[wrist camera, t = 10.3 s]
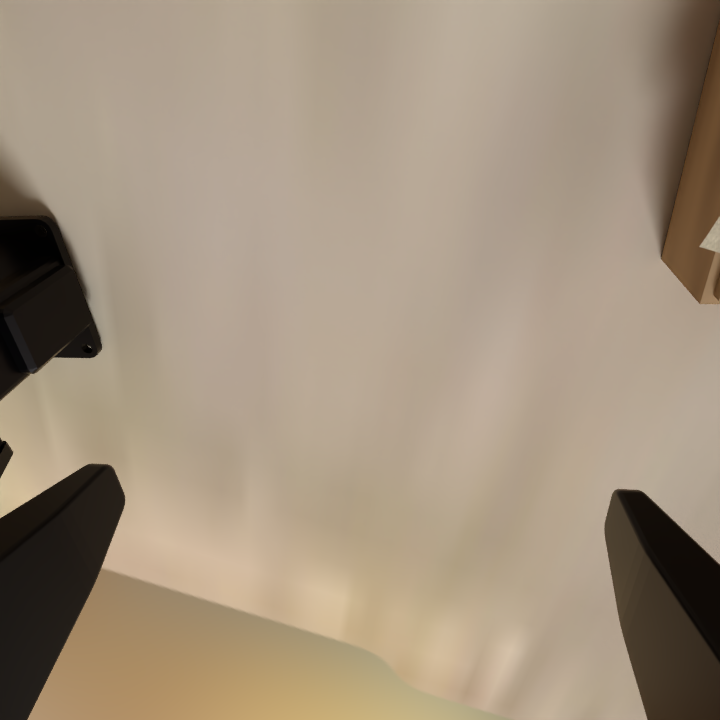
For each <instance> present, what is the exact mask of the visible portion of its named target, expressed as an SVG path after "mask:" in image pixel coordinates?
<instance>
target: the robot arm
mask: <svg viewBox="0 0 720 720" xmlns="http://www.w3.org/2000/svg"><path fill="white" fill-rule="evenodd" d="M41 226H43V227H44V228H45V229H46V231H47V233H45V232H44V231H43V230H42V229H41ZM87 344H88V345H89V346H91V348H90V347H88V346H87ZM101 350H102V344H101V341H100V339H99V336H98V333H97V331H96V328H95V325H94V323H93V320H92V317H91V314H90V312H89V309H88V306H87V304H86V301H85V298H84V296H83V293H82V290H81V288H80V285H79V282H78V280H77V277H76V274H75V272H74V269H73V266H72V264H71V261H70V258H69V256H68V253H67V250H66V248H65V245H64V242H63V240H62V237H61V234H60V232H59V229H58V227H57V225H56V223H55V222H54V221H53V220H52V219H50V218H49V217H47V216H13V217H0V401H1V400H2V399H3V398H4V397H5V396H6V395H8V394H9V393H10V392H11V391H12V390H13V389H14V388H15V387H17V386H18V385H19V384H20V383H21V382H22V381H23V380H24V379H26V378H27V377H28V376H29V375H30V374H34V373H36V372H38V371H39V370H40V369H41V368H42V367H43V366H45V365H46V364H47V363H48V362H49V361H50V360H51V359H52V358H53V357H62V358H93V357H95V356H96V355H97V354H98V353H99V352H100V351H101ZM12 455H13V451H12V449H11V448H10V447H9V445H8V444H7V442H6V441H2V440H1V438H0V478H1V476H2V474H3V472H4V470H5V468H6V466H7V464H8V462H9V460H10V459H11V457H12ZM124 505H125V495H124V492H123V489H122V487H121V485H120V482H119V480H118V477H117V475H116V473H115V470H114V468H113V467H112V466H110V465H108V464H88V465H86V466H84V467H82V468H81V469H79V470H78V471H76V472H74V473H73V474H71V475H70V476H68V477H66V478H65V479H63V480H61V481H60V482H58V483H57V484H55V485H53V486H52V487H50V488H49V489H47V490H45V491H44V492H42V493H41V494H39V495H37V496H36V497H34V498H32V499H31V500H29V501H28V502H26V503H24V504H23V505H21V506H20V507H18V508H16V509H15V510H13V511H12V512H10V513H8V514H7V515H5V516H3V517H2V518H0V720H27V719H28V717H29V715H30V713H31V711H32V709H33V707H34V705H35V703H36V701H37V699H38V697H39V695H40V693H41V691H42V689H43V687H44V685H45V683H46V681H47V679H48V677H49V675H50V673H51V671H52V669H53V667H54V665H55V662H56V661H57V659H58V656H59V655H60V653H61V651H62V649H63V647H64V645H65V643H66V641H67V639H68V637H69V635H70V633H71V631H72V629H73V627H74V625H75V623H76V621H77V618H78V617H79V615H80V613H81V611H82V609H83V607H84V604H85V602H86V600H87V598H88V596H89V594H90V592H91V590H92V588H93V586H94V584H95V582H96V579H97V577H98V574H99V572H100V570H101V567H102V564H103V562H104V559H105V556H106V554H107V551H108V548H109V546H110V543H111V541H112V538H113V535H114V533H115V530H116V527H117V525H118V522H119V519H120V517H121V514H122V512H123V509H124ZM605 540H606V545H607V551H608V557H609V563H610V569H611V575H612V580H613V586H614V592H615V598H616V604H617V610H618V615H619V620H620V625H621V629H622V633H623V637H624V641H625V644H626V647H627V651H628V654H629V658H630V661H631V665H632V668H633V671H634V675H635V678H636V682H637V685H638V689H639V692H640V695H641V699H642V702H643V706H644V709H645V712H646V716H647V719H648V720H720V564H719V563H718V562H717V561H716V560H714V559H713V558H712V557H711V556H710V555H709V554H708V553H707V552H706V551H705V550H704V549H703V548H702V547H701V546H700V545H699V544H698V543H697V542H696V541H694V540H693V539H692V538H691V537H690V536H689V535H688V534H687V533H686V532H685V531H684V530H683V529H682V528H681V527H680V526H679V525H678V524H677V523H676V522H675V521H673V520H672V519H671V518H670V517H669V516H668V515H667V514H666V513H665V512H664V511H663V510H662V509H661V508H660V507H659V506H658V505H657V504H656V503H655V502H653V501H652V500H651V499H650V498H649V497H648V496H647V495H646V494H645V493H644V492H642V491H640V490H627V489H617V490H615V491H614V492H613V494H612V497H611V501H610V505H609V509H608V513H607V517H606V520H605Z"/></svg>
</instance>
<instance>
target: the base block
mask: <svg viewBox="0 0 720 720" xmlns="http://www.w3.org/2000/svg"><path fill="white" fill-rule="evenodd" d="M719 216H720V20H719V24H718V28H717V32H716V37H715V41H714V45H713V49H712V53H711V57H710V61H709V65H708V69H707V73H706V78H705V82H704V86H703V90H702V94H701V98H700V102H699V106H698V110H697V114H696V118H695V123H694V127H693V131H692V135H691V139H690V143H689V147H688V151H687V155H686V159H685V164H684V168H683V172H682V176H681V180H680V184H679V188H678V192H677V196H676V200H675V205H674V209H673V213H672V217H671V221H670V225H669V229H668V233H667V237H666V241H665V246H664V250H663V254H662V258H661V259H662V261H663V262H664V263H665V264H666V265H667V266H668V268H669V269H670V270H671V271H672V272H673V273H674V274H675V276H676V277H677V278H678V279H679V280H680V281H681V283H682V284H683V285H684V286H685V287H686V288H687V290H688V291H689V292H690V293H691V294H692V295H693V297H694V298H695V299H696V300H697V301H698V302H699V304H720V253H718V252H715V251H712V250H708V249H705V248H702V247H699V246H700V245H701V243H702V242H703V241H704V239H705V238H706V236H707V235H708V233H709V232H710V230H711V229H712V227H713V226H714V224H715V223H716V221H717V220H718V218H719Z"/></svg>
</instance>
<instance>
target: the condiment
mask: <svg viewBox="0 0 720 720" xmlns="http://www.w3.org/2000/svg"><path fill="white" fill-rule="evenodd" d="M699 247H702V248H705V249H708V250H712V251H715V252H718V253H720V216H719V218H718V220H717V221H716V223H715V224H714V226H713V227H712V229H711V230H710V232H709V233H708V235H707V236H706V238H705V239H704V241H703V242H702V243H701V245H700V246H699Z"/></svg>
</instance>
